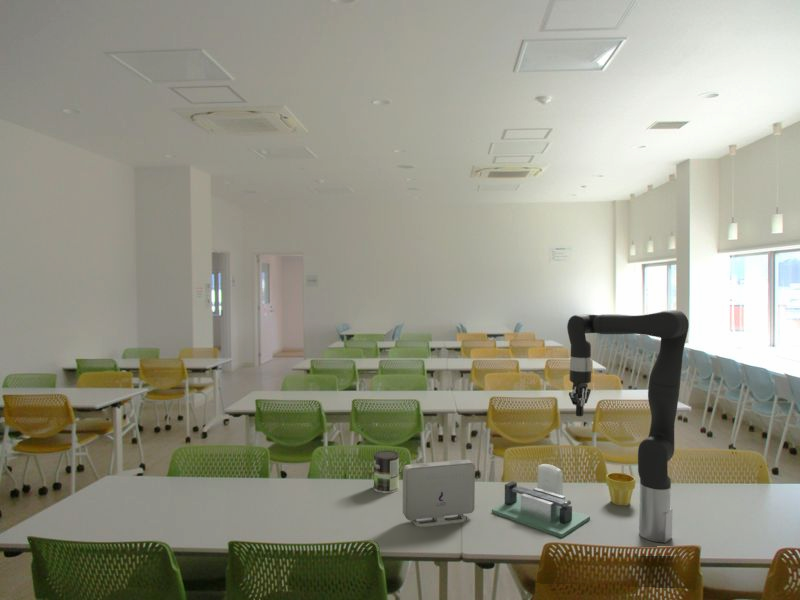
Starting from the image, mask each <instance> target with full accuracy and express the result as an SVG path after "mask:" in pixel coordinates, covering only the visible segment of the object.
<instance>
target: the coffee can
mask: <svg viewBox="0 0 800 600" xmlns="http://www.w3.org/2000/svg"><path fill="white" fill-rule="evenodd" d="M399 459H400V454H399V453H398V452H397V451H394V450H378V451H376V452H374V453H373V490H374V491H375V492H377V493H380V494H391V493H396V492H398V490H399V480H400V478H399V475H400V473H399V472H400V471H399V470H400V469H399V466H400V465H399V464H400V463H399V462H400V460H399Z"/></svg>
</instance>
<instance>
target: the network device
mask: <svg viewBox="0 0 800 600" xmlns="http://www.w3.org/2000/svg"><path fill="white" fill-rule="evenodd" d="M475 471H476V465H475V464H474V462H472V461H471V460H469V459H457V460H447V461H444V460H443V461H436V462H425V463H423V462H422V463H412V464H405V465H404V466H403V467H402V514H403V516H404V518H406V520H408V521H412V523H413V524H414V525H415V526H417V527H420V528H424V527H434V526H435V527H436V526H441V525H442V526H443V525H448V524H449V525H450V524H459V523H463V522H465V521H466V520H467V519H466V516H465V515H467V514H472V513H474V511H475V506H476V505H475V501H476V500H475V499H476V497H475V494H476V493H475V492H476V491H475V490H476V488H475V487H476V486H475V485H476V484H475V483H476V481H475V479H476V472H475ZM456 515H457V516H459V517H460V518H461V519H453V520H452V519H451V520H447V519H445V517H448V516H456ZM432 518H433V519H434V521H435V522H434V521H433V522H428V523H419V522H418V520H422V519H423V520H425V519H432Z"/></svg>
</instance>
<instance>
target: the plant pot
mask: <svg viewBox="0 0 800 600" xmlns="http://www.w3.org/2000/svg"><path fill="white" fill-rule="evenodd" d="M605 483H606V485H607V487H608V490H609V497H610V501H611V503H612V504H614V505H618V506H628V505H630V504H631V500H632V499H631V498H632V496H633V492H634V491H633V490H634V489H635V488H636V478H635V477H634V476H633V475H631V474H628V473H623V472H622V473H621V472H610V473H607V474H606V475H605Z"/></svg>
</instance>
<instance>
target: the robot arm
mask: <svg viewBox="0 0 800 600" xmlns="http://www.w3.org/2000/svg"><path fill="white" fill-rule="evenodd" d="M566 326H567V327H566V328H567V334H568V339H569V343H570V357H569V381H570V382H571V383H572V387H571V388H572V391H569V392H568V396H569V399H570V402H571V404H572V405H573V406H575V415H576V417H580V418H581V417H583V416H584V407H585V404H587V403H588V401H589V397H590V395H591V391H592V389H591V388H588V387H589V385H588V384H589V383H591V382H592V358H591V357H592V356H591V354H592V349H591V348H592V347H591V346H592V345H591V342H590V341H588V340H587V337H586V334H600V335H644V336H650V337H651V336H652V337H654V338H655V337H656V338H660V347H659V351H658V355H657V357H656V360H655V362H654V364H653V367H652V369H651V371H650V375H649V381H648V389H647V399H648V406H649V410H650V416H651V417H650V418H651V421H650V428H649V434H648V436H647V438H645V439H643V440H642V441H641V442H640V443H639V446H638V450H637V471H638V472H637V474H638V476H639V514H638V515H639V519H638V520H639V521H638V523H639V524H638V529H639V530H638V533H639V535H640V536H641V538H643V539H644V540H647V541H651V542H656V543H658V542H659V543H663V544H666V543H667V542H668V541H670V540H671V538H672V537H673V509H672V508H671V496H672V495H671V490H672V486H671V485H672V479H671V478H670V476H669V475H668V472H669V471H668V470H669V469H668V462H669V461H670V460H671V459H672V458H673V456H674V454H675V423H676V416H677V411H678V404H679V398H680V388H681V380H682V379H681V378H682V377H681V376H682V368H683V367H682V366H683V356H684V350H685V349H684V348H685V345H686V340H687V338H688V337H687V336H688V332H689V320H688V317H687V316H686V314H685V313H684V312H683V311H681V310H677V309H668V310H667V309H666V310H662V311H659V312H654V313H649V314H641V315H639V314H638V315H631V314H630V315H629V314H618V313H617V314H616V313H615V314H606V313H605V314H574V315H572V316H570V318H569V319H568V321H567V325H566Z"/></svg>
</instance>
